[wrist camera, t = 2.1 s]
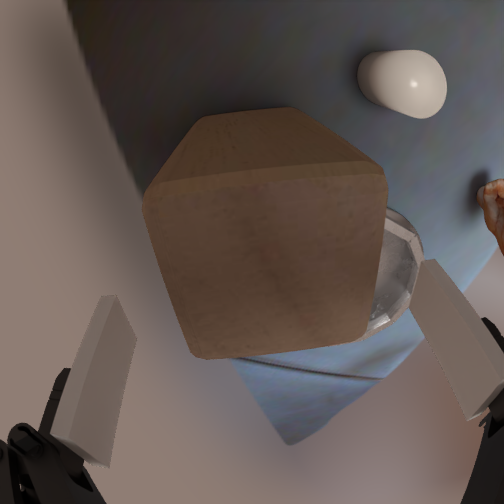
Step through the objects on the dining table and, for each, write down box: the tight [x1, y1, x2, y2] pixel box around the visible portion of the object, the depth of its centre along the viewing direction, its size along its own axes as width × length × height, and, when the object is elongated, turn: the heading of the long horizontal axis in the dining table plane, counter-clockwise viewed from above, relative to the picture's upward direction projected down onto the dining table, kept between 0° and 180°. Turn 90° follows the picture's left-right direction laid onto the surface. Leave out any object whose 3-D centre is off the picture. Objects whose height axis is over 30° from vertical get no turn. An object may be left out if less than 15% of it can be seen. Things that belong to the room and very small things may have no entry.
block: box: [142, 107, 388, 360], centre depth 21 cm, size 10×10×20 cm
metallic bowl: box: [326, 207, 425, 347], centre depth 38 cm, size 22×22×2 cm
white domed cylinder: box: [357, 50, 447, 118], centre depth 22 cm, size 6×6×7 cm
